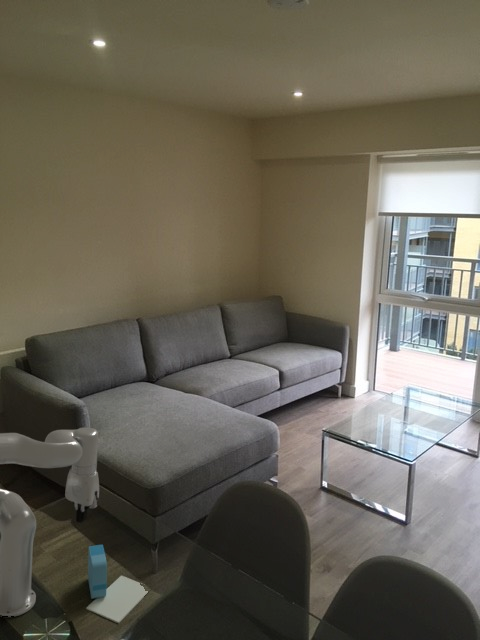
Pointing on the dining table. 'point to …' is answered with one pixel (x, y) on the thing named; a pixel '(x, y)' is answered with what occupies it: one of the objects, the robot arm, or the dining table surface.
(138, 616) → the dining table surface
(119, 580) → the mat
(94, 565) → the data package
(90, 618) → the dining table surface
